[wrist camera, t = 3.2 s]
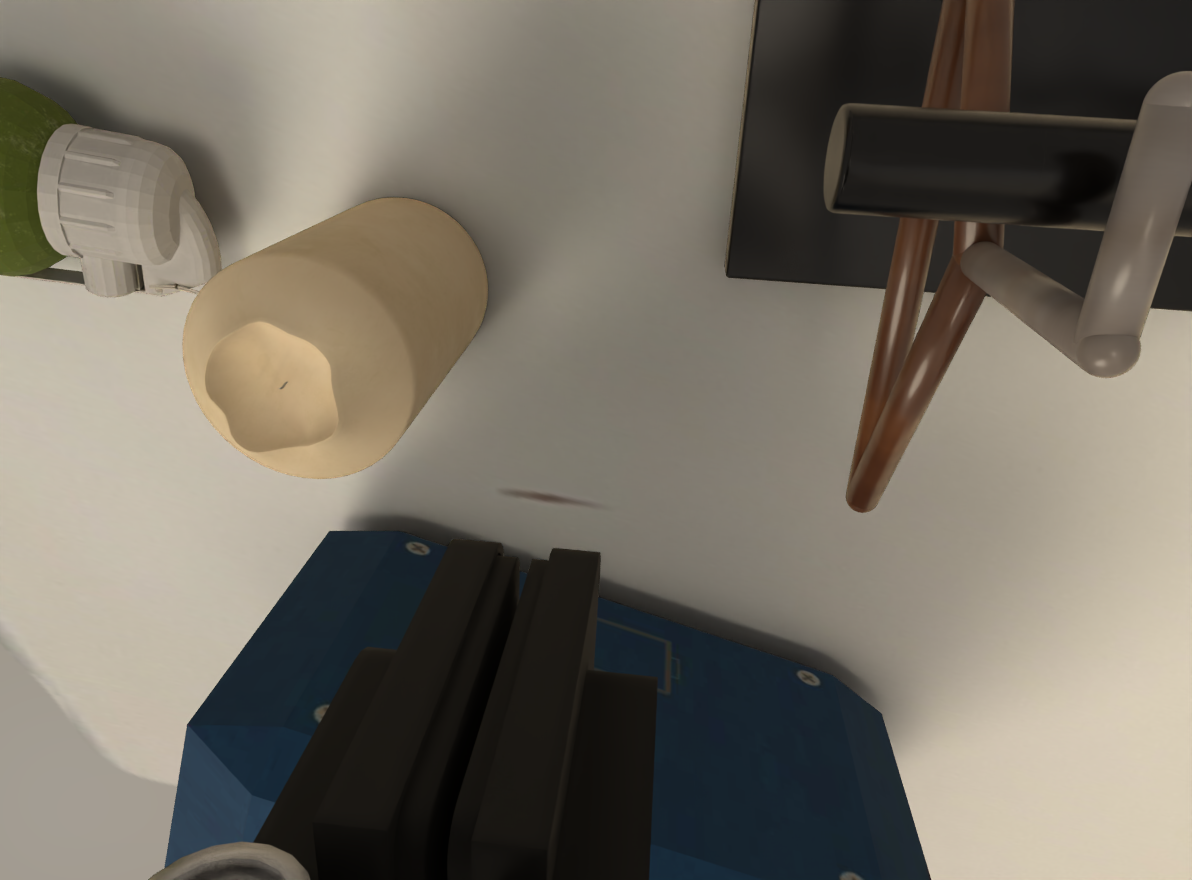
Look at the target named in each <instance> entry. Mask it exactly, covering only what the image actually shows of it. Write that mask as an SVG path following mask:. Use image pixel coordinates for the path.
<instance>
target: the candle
mask: <svg viewBox="0 0 1192 880" xmlns="http://www.w3.org/2000/svg"><path fill="white" fill-rule="evenodd" d="M487 298H488V281H487V274H486V269H485V266H484V263H483V260H482V257H481V255H480V253H479V250H478V248H477V247H476V245H475V243H474V242H473V240H472V239H471V237H470V236H469V235H468V233H467V232H466V231H465V230H464V229H463V227H462V226H461V225H460V224H459V223H458V222H457V221H455V220H454V219H453V218H452V217H450V216H449V215H448V214H446V213H445V212H443V211H441V210H440V209H438V208H436V207H434V206H432V205H430V204H428V203H424V202H421V201H418V200H414V199H408V198H394V197H389V198H379V199H375V200H371V201H368V202H365V203H363V204H360V205H358V206H355V207H353V208H350V209H348V210H346V211H344V212H342V213H340V214H337V215H335V216H333V217H331V218H329V219H327V220H325V221H322V222H320V223H318V224H316V225H314V226H312V227H310V228H308V229H305V230H303V231H301V232H299V233H297V234H295V235H293V236H291V237H288V238H286V239H284V240H282V241H280V242H278V243H276V244H273V245H271V246H269V247H267V248H265V249H263V250H261V251H259V252H256V253H254V254H252V255H250V256H248V257H246V258H244V259H242V260H239V261H237V262H235V263H233V264H231V265H230V266H228V267H226V268H225V269H223V270H221V271H220V272H218V273H217V274H216V275H215V276H214V277H212V278H211V279H210V280H209V281H208V282H207V283H206V284H205V286H204V287H203V288H202V289H201V290H200V291H199V293H198V295H197V296H196V298H195V300H194V301H193V303H192V305H191V308H190V310H189V313H188V315H187V318H186V323H185V327H184V333H183V360H184V366H185V371H186V375H187V379H188V382H189V385H190V388H191V390H192V392H193V395H194V397H195V399H196V401H197V403H198V405H199V406H200V408H201V410H202V411H203V413H204V415H205V416H206V418H207V419H208V420H209V421H210V423H211V424H212V425H213V427H214V428H215V429H216V430H217V431H218V432H219V433H220V434H221V435H222V437H223V438H224V439H225V440H227V441H228V442H229V443H230V444H231V445H232V446H234V447H235V448H236V449H237V450H239V451H240V452H241V453H243V454H244V455H246V456H247V457H249V458H250V459H252V460H254V461H256V462H257V463H259V464H261V465H263V466H265V467H268V468H270V469H273V470H275V471H278V472H281V473H284V474H288V475H291V476H297V477H302V478H313V479H327V478H337V477H342V476H347V475H350V474H353V473H356V472H359V471H361V470H363V469H365V468H367V467H369V466H371V465H373V464H374V463H376V462H377V461H379V460H380V459H382V458H383V457H384V456H385V455H386V454H387V453H388V452H389V451H390V450H391V449H392V448H393V447H394V446H395V444H396V443H397V442H398V441H399V439H400V438H401V437H402V435H403V434H404V433H405V431H406V430H407V429H408V427H409V426H410V424H411V423H412V422H413V420H414V419H415V418H416V416H417V415H418V414H419V412H420V411H421V409H422V408H423V407H424V405H425V404H426V403H427V401H428V400H429V399H430V397H431V396H432V394H433V393H434V392H435V390H436V389H437V388H438V386H439V385H440V383H441V382H442V381H443V379H444V378H445V377H446V375H447V374H448V373H449V371H450V370H451V368H452V367H453V366H454V364H455V363H456V362H457V360H458V359H459V357H460V356H461V355H462V353H463V352H464V351H465V349H466V348H467V347H468V345H469V344H470V342H471V341H472V339H473V338H474V336H475V334H476V333H477V331H478V329H479V327H480V325H481V323H482V320H483V318H484V314H485V310H486V306H487Z"/></svg>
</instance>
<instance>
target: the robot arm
mask: <svg viewBox="0 0 1192 880" xmlns="http://www.w3.org/2000/svg"><path fill="white" fill-rule="evenodd" d="M600 562H601V554H600V552H591V551H580V550H570V549H559V548H553V549H552V551H551V554H550V557H549V560H540V559H532V561H531V564H530V567H529V570H528V574H527V577H526V580H525V583H524V587H523V590H522V593H521V596H520V599H519V586H520V562H519V558H518V557H509V556H504V551H503V546H502V544H501V543H496V542H485V541H475V540H464V539H452V541H451V542H450V544H449V545H448V548H447V550H446V552H445V554H444V556H443V558H442V560H441V562H440V564H439V566H438V568H437V570H436V572H435V574H434V576H433V578H432V580H431V582H430V584H429V586H428V588H427V590H426V592H425V594H424V596H423V598H422V600H421V602H420V604H419V606H418V608H417V610H416V612H415V614H414V616H413V618H412V621H411V623H410V625H409V627H408V629H407V631H406V633H405V635H404V637H403V639H402V641H401V643H400V645H399V647H398V649H397V650H394V649H384V648H374V647H366V648H365V649H363V650H361V652H360V653H359V654H358V656H357V657H356V659H355V660H354V662H353V664H352V666H351V667H350V669H349V671H348V673H347V675H346V676H345V678H344V680H343V682H342V684H341V685H340V687H339V689H338V691H337V693H336V694H335V696H334V698H333V700H332V702H331V703H330V705H329V707H328V709H327V711H326V712H325V714H324V716H323V718H322V720H321V721H320V723H319V725H318V727H317V729H316V730H315V732H314V734H313V736H312V738H311V739H310V741H309V743H308V745H307V746H306V748H305V750H304V752H303V754H302V755H301V757H300V759H299V761H298V763H297V764H296V766H295V768H294V770H293V772H292V773H291V775H290V777H289V779H288V781H287V782H286V784H285V786H284V788H283V790H282V791H281V793H280V795H279V797H278V799H277V800H276V802H275V804H274V806H273V808H272V809H271V811H270V813H269V815H268V817H267V818H266V820H265V822H264V824H263V826H262V827H261V829H260V831H259V833H258V835H257V836H256V838H255V840H254V842H253V843H250V842H237V843H230V844H222V845H215V846H211V847H208V848H206V849H203V850H200V851H198V852H195V853H192V854H189V855H187V856H184V857H182V858H180V859H178V860H177V861H175V862H174V863H172V864H170V865H169V866H167V867H165V868H164V869H162V870H161V871H159V872H157V873H156V874H154V875H153V876H152V877H151V878H149V879H148V880H649V871H650V848H651V825H652V803H653V780H654V757H655V734H656V712H657V688H658V677H653V676H643V675H633V674H624V673H614V672H605V671H595V670H594V658H595V642H596V626H597V611H598V595H599V579H600Z"/></svg>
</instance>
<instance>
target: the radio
mask: <svg viewBox="0 0 1192 880" xmlns="http://www.w3.org/2000/svg"><path fill="white" fill-rule="evenodd" d="M447 548H448V547H447V546H444V545H441V544H438V543H435V542H432V541H429V540H426V539H423V538H420V537H417V536H414V535H411V534H408V533H405V532H401V531H329V532H328V534H327V535H326V537H325V538H324V539H323V541H322V542H321V543H320V545H319V546H318V547H317V549H316V550H315V552H314V553H313V554H312V556H311V557H310V558H309V560H308V561H307V562H306V564H305V565H304V566H303V568H302V569H301V571H300V572H299V573H298V575H297V576H296V577H295V579H294V580H293V581H292V583H291V584H290V586H289V587H288V588H287V590H286V591H285V592H284V594H283V595H282V596H281V598H280V599H279V600H278V602H277V603H276V605H275V606H274V607H273V609H272V610H271V611H270V613H269V614H268V615H267V617H266V618H265V620H264V621H263V622H262V624H261V625H260V626H259V628H258V629H257V630H256V632H255V633H254V634H253V636H252V637H251V639H250V640H249V641H248V643H247V644H246V645H245V647H244V648H243V649H242V651H241V652H240V654H239V655H238V656H237V658H236V659H235V660H234V662H233V663H232V664H231V666H230V667H229V668H228V670H227V671H226V673H225V674H224V675H223V677H222V678H221V679H220V681H219V682H218V683H217V685H216V686H215V688H214V689H213V690H212V692H211V693H210V694H209V696H208V697H207V698H206V700H205V701H204V703H203V704H202V705H201V707H200V708H199V709H198V711H197V712H196V713H195V715H194V716H193V717H192V719H191V720H190V722H189V723H188V724H187V730H186V736H185V742H184V749H183V755H182V761H181V767H180V774H179V780H178V786H177V793H176V799H175V805H174V812H173V818H172V824H171V831H170V837H169V843H168V849H167V856H166V862H165V867H167V866H169V865H170V864H172V863H174V862H175V861H177V860H178V859H180V858H182V857H184V856H187V855H189V854H192V853H195V852H198V851H200V850H203V849H206V848H208V847H211V846H215V845H222V844H230V843H237V842H250V843H253V842H254V840H255V838H256V836H257V835H258V833H259V831H260V829H261V827H262V826H263V824H264V822H265V820H266V818H267V817H268V815H269V813H270V811H271V809H272V808H273V806H274V804H275V802H276V800H277V799H278V797H279V795H280V793H281V791H282V790H283V788H284V786H285V784H286V782H287V781H288V779H289V777H290V775H291V773H292V772H293V770H294V768H295V766H296V764H297V763H298V761H299V759H300V757H301V755H302V754H303V752H304V750H305V748H306V746H307V745H308V743H309V741H310V739H311V738H312V736H313V734H314V732H315V730H316V729H317V727H318V725H319V723H320V721H321V720H322V718H323V716H324V714H325V712H326V711H327V709H328V707H329V705H330V703H331V702H332V700H333V698H334V696H335V694H336V693H337V691H338V689H339V687H340V685H341V684H342V682H343V680H344V678H345V676H346V675H347V673H348V671H349V669H350V667H351V666H352V664H353V662H354V660H355V659H356V657H357V656H358V654H359V653H360V652H361V650H363V649H365V648H366V647H374V648H384V649H394V650H397V649H398V647H399V645H400V643H401V641H402V639H403V637H404V635H405V633H406V631H407V629H408V627H409V625H410V623H411V621H412V618H413V616H414V614H415V612H416V610H417V608H418V606H419V604H420V602H421V600H422V598H423V596H424V594H425V592H426V590H427V588H428V586H429V584H430V582H431V580H432V578H433V576H434V574H435V572H436V570H437V568H438V566H439V564H440V562H441V560H442V558H443V556H444V554H445V552H446V550H447ZM527 574H528V573H525V572H522V571H520V586H519V599H520V596H521V593H522V590H523V587H524V583H525V580H526V577H527ZM594 670H595V671H605V672H614V673H624V674H633V675H643V676H653V677H658V688H657V712H656V734H655V757H654V780H653V803H652V825H651V848H650V871H649V880H931V878H930V874H929V871H928V867H927V864H926V861H925V857H924V854H923V851H922V847H921V844H920V841H919V837H918V834H917V831H916V827H915V824H914V821H913V817H912V814H911V811H910V807H909V804H908V801H907V797H906V794H905V790H904V787H903V784H902V780H901V777H900V774H899V770H898V767H897V764H896V760H895V757H894V754H893V750H892V747H891V744H890V740H889V737H888V734H887V730H886V727H885V724H884V720H883V717H882V714H881V713H880V712H879V711H878V710H876V709H875V708H874V707H872V706H871V705H870V704H869V703H867V702H866V701H865V700H864V699H862V698H861V697H860V696H859V695H857V694H856V693H855V692H853V691H852V690H851V689H850V688H848V687H847V686H846V685H845V684H843V683H842V682H841V681H839V680H838V679H837V678H836V677H834V676H833V675H831V674H828V673H825V672H823V671H820V670H817V669H814V668H811V667H808V666H805V665H802V664H799V663H796V662H793V661H790V660H787V659H784V658H781V657H778V656H775V655H772V654H769V653H766V652H763V651H760V650H757V649H754V648H751V647H748V646H745V645H742V644H739V643H736V642H733V641H730V640H727V639H724V638H721V637H718V636H715V635H712V634H709V633H706V632H703V631H700V630H697V629H694V628H691V627H688V626H685V625H682V624H679V623H676V622H673V621H670V620H667V619H664V618H661V617H658V616H655V615H652V614H649V613H646V612H643V611H640V610H637V609H634V608H631V607H628V606H625V605H621V604H618V603H615V602H612V601H609V600H606V599H603V598H600V597H598V611H597V626H596V642H595V658H594Z"/></svg>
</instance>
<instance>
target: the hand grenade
mask: <svg viewBox="0 0 1192 880" xmlns="http://www.w3.org/2000/svg"><path fill="white" fill-rule="evenodd" d="M67 256H73V257H79V258H80V260H81V266H82V271H83V272H79V271H71V270H63V269H56V268H49V267H50V266H52V265H54V264H55V263H57V262H59V261H60V260H62V259H64V258H65V257H67ZM221 270H222V267H221V255H220V250H219V246H218V242H217V239H216V236H215V234H214V231H213V228H212V225H211V223H210V221H209V219H208V217H207V216H206V214H205V212H204V210H203V208H202V207H201V205H200V203H199V202H198V201H197V200H196V199H195V191H194V187H193V183H192V180H191V177H190V175H189V172H188V170H187V168H186V165H185V163H184V162H183V160H182V159H181V158H180V157H179V156H178V155H177V154H176V153H175V152H174V151H173V150H172V149H171V148H169V147H166V146H164V145H162V144H159V143H156V142H154V141H148V140H144V139H142V138H141V137H138V136H133V135H128V134H122V133H117V132H111V131H106V130H100V129H95V128H92V127H88V126H82V125H78V124H77V123H76V122H75V120H74V119H73V118H72V117H71V116H70V115H69V113H68V112H67V111H66V110H64V109H63V108H62V107H61V106H59V105H58V104H57V103H56V102H54V101H53V100H51V99H50V98H48V97H46V96H44V95H42V94H40V93H38V92H36V91H34V90H33V89H31V88H29V87H27V86H25V85H23V84H21V83H19V82H17V81H15V80H10V79H6V78H2V77H0V275H4V276H12V277H20V278H28V279H36V280H44V281H52V282H60V283H68V284H76V285H84V286H85V287H86V289H87V290H88V291H89V292H90V293H92V294H95V295H97V296H102V297H120V296H124V295H128V294H130V293H132V292H140V293H146V294H151V295H157V296H165V295H168V294H172V293H175V292H179V291H186V292H190V293H194V294H198V293H199V291H197V290H193V289H189V288H193V287H196V286H199V285H202V284H205V283H207V282H208V281H209V280H210V279H211V278H212V277H214V276H215V275H216V274H217V273H218V272H220V271H221Z"/></svg>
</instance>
